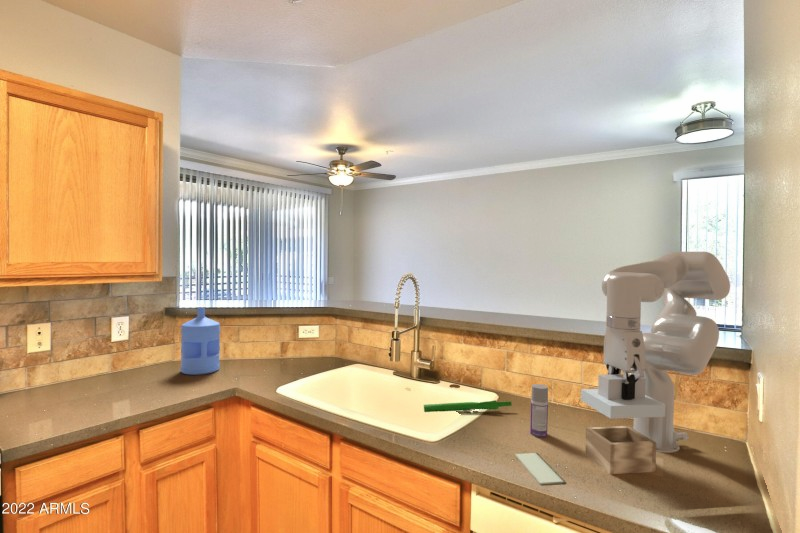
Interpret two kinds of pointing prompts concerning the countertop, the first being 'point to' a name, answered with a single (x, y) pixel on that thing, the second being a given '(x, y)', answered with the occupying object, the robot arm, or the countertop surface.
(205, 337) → the water jug
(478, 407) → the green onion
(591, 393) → the lid
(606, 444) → the box
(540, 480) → the mat
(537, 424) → the container
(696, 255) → the robot arm
